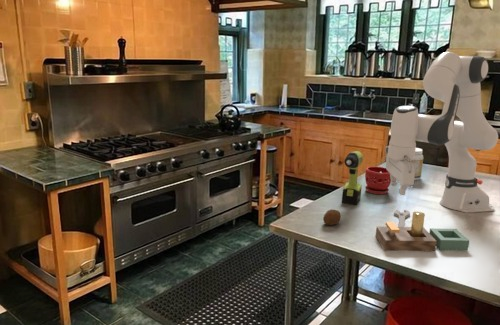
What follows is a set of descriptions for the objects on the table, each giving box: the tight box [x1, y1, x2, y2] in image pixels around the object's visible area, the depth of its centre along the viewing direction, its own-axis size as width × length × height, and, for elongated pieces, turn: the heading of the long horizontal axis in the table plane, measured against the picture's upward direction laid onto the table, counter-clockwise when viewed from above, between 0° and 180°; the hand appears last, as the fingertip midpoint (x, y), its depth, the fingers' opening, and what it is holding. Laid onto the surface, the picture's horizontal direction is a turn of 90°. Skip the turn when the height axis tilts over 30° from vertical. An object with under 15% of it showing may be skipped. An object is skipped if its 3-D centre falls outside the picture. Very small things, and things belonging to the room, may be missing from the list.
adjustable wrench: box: [393, 209, 411, 227], centre depth 170 cm, size 25×6×2 cm, turn 154°
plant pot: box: [364, 166, 391, 195], centre depth 207 cm, size 13×13×12 cm
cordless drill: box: [341, 150, 364, 206], centre depth 188 cm, size 23×7×25 cm, turn 155°
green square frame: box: [428, 227, 470, 252], centre depth 151 cm, size 10×10×4 cm
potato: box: [322, 208, 342, 226], centre depth 168 cm, size 7×10×6 cm
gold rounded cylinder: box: [410, 211, 426, 237], centre depth 150 cm, size 4×4×12 cm
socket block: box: [375, 225, 437, 252], centre depth 151 cm, size 18×12×4 cm, turn 88°
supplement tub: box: [411, 147, 424, 182], centre depth 230 cm, size 12×12×17 cm
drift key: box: [385, 221, 400, 236], centre depth 151 cm, size 3×7×6 cm, turn 178°
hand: (397, 189), depth 146 cm, fingers open, 8 cm apart
